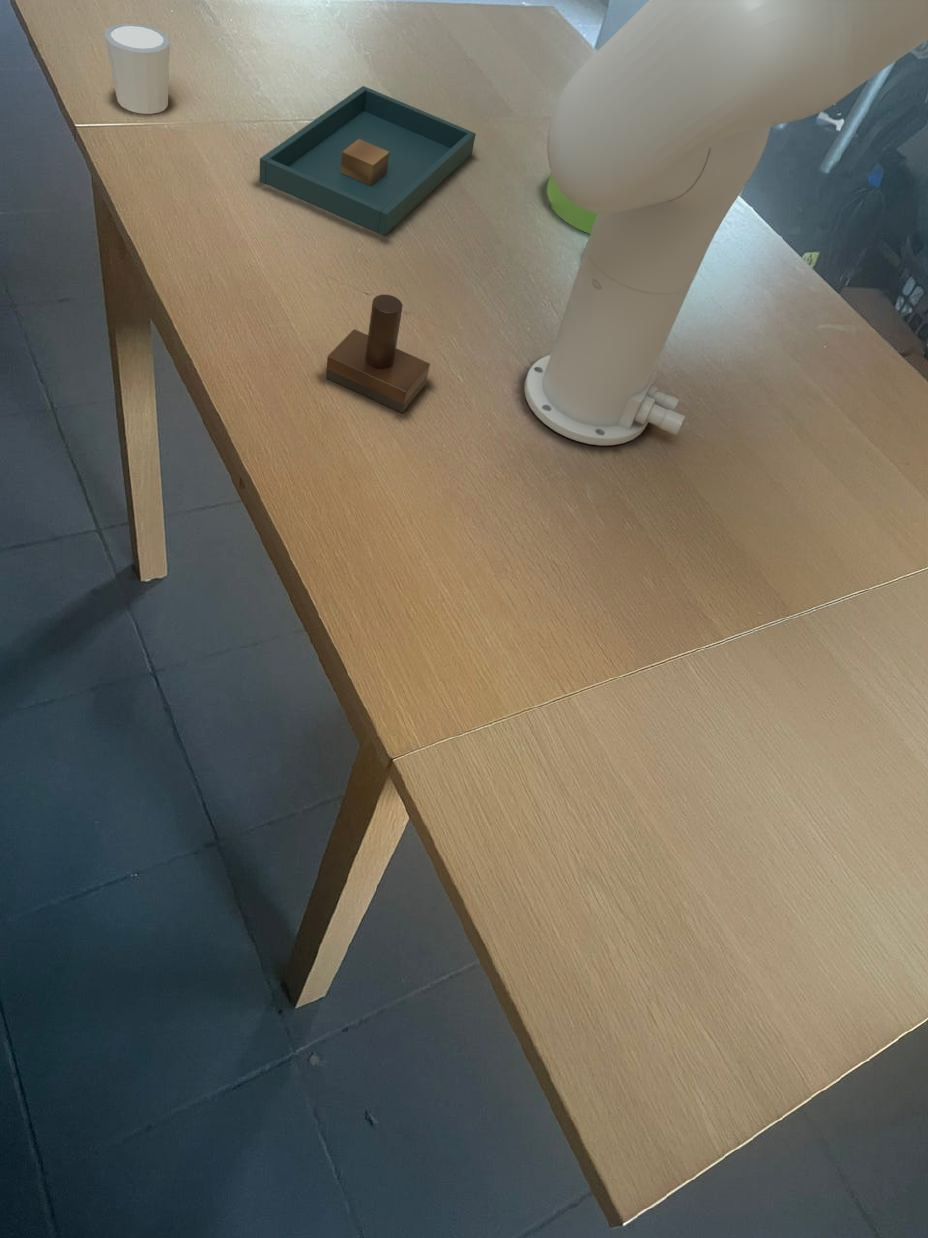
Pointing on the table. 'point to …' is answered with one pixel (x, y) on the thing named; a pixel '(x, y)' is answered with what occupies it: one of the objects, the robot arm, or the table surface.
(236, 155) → the table surface
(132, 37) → the white cup
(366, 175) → the wooden block
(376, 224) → the tray
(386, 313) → the stamp
